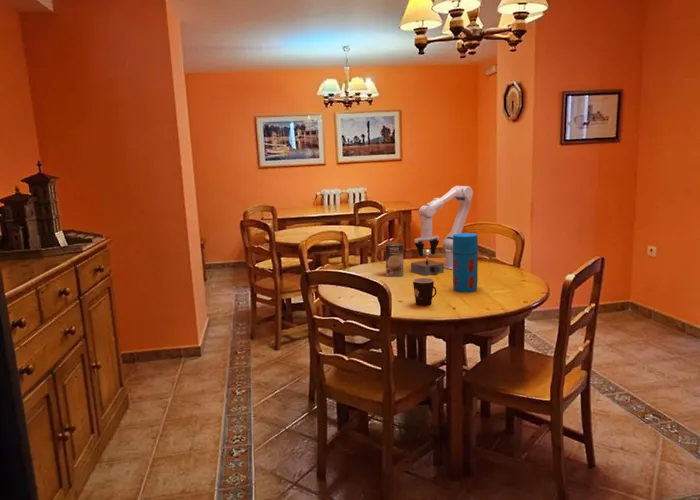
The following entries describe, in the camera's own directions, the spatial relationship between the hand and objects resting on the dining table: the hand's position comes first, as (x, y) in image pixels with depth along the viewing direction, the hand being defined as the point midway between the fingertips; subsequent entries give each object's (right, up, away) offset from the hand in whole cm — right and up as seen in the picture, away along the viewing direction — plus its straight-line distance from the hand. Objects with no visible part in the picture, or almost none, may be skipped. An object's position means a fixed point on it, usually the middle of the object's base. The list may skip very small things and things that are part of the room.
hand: (427, 255), depth 268 cm
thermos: (+12, -16, -35) cm, 40 cm away
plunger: (0, -6, +1) cm, 6 cm away
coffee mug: (-9, -20, -55) cm, 60 cm away
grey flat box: (0, -9, +2) cm, 9 cm away
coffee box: (-17, -11, -2) cm, 20 cm away
